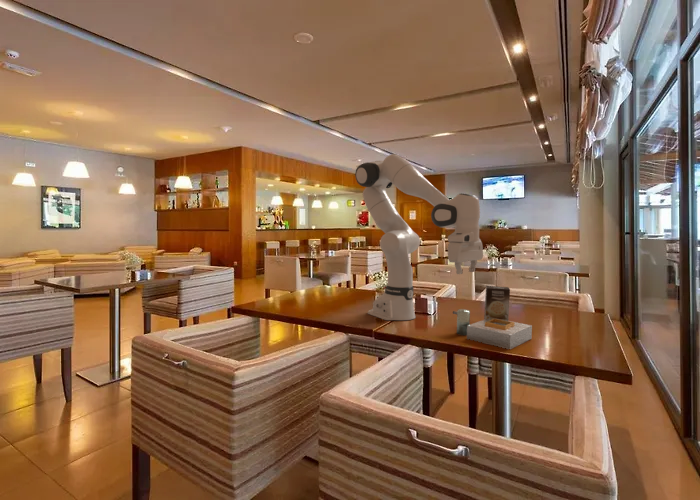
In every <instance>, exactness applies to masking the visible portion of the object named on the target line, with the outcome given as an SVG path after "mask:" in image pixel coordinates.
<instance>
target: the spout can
mask: <svg viewBox="0 0 700 500" xmlns="http://www.w3.org/2000/svg"><path fill="white" fill-rule="evenodd" d="M452 314H454V315H457V316H456V317H457V318H456V335H459V336H467V325H470V323H471V322H470V321H471V320H470V319H471V315H470V314H471V310H469V309H465V308H460V309H457V311H452Z"/></svg>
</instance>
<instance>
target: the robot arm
mask: <svg viewBox="0 0 700 500" xmlns="http://www.w3.org/2000/svg"><path fill="white" fill-rule="evenodd" d="M354 173H355V174H354V175H355V180H356V183H357V184H358V185H359V186H361V187H364V189H363V191H362V198H363V201H364V204H365V206H366V208H367V210H368V212H369V214H370V216H371V217H372V220H373V221H374V223H375V225H376V226H377V227H378V228H379V229H380V230H381V231H382V232H383V233H384V234H383V235H382V236H381V237H380V241H379V247H380V249H381V251H382V252H383V254H384V257H385V261H386V264H387V265H386V266H387V285H385V286H383V287H382V290H384V293H382V294H381V295H379V297H377V298H376V299H374V301H373V303H372V305H373V306H372V309H370V310H368V311H367V315H369V316H370V315H371V316H374V317H375V318H379V319H382V320H384V321H410V320H414V319H416V314H415V309H414V299H413V297H414V285H413V281H414V280H413V277H414V273H413V271H414V270H413V267H412V265H411V262H410V257H409V254H411V253H412V254H413V253H414V252H416V251H417V250H418V249H419V247H420V244H421V239H420V236H419V235H418V234H417V233H416V232H415V231H414V230H413V229H412V228H411V227H410V226H409V224H408V223H407V222H406V221H405V220H404V219H403V217H402V216H401V215H400V214H399V212H398V210H397V209H396V207H395V205H394V203H393V202H392V201H391V199H390V197H389V195H388V192H387V189H389V188H392V185H394V187H395V188H396V189H398V190H399V191H401V193H402V192H403V193H404V194H406V195H409V196H413V197H417V198H420V199H423V200H425V201H427V203H429V204H431V205H432V206H433V207H432V210H431V213H430V214H431V215H430V218H431V222H432V223H433V225H435V226H437V227H439V228H442V229H443V228H446V229H450V228H451V229H454V231H453V232H452V233H450V234H449V235H448V236H447V241H448V242H449V243H448V246H447V259H448V262H449V263H454V267H455V269H456V271H455V272H456V274H457V275H462V274H463V272H464V271H463V270H464V269H462V265H463V263H465V262H470V265H469V267H468V271H469V272H470V273H475V272H476V266H477V264H478V261H480V260H481V261H482V260H483V259H484V247H483V242H482V239H481V238H480V225H479V223H480V222H479V221H480V218H481V217H480V216H481V215H480V213H481V212H480V210H481V209H480V207H481V206H480V201H479V200H480V199H479V197H478V196H477V195H475V194H469V193H458V194H457V195H455V197H453V198H451V199H450V198H449V197H447V196H446V195H445V194H444V193H443V192H441V191H440V190H439V189H437V188H436V187H435V186H434V185H433V184H432V183H431V182H430V181H429V180H428V179H427V178H426V177H425V176H424V175H423V174H422V173H421V172H420V171H419V170H418V169H417V168H416V167H415V166H414V165H413V164H412V163H410V162H409V161H408V160H406V159H405V158H404V157H402V156H400V155H398V154H395V153H393V154H389V155H388V156H386V157H385V158H384V160H375V161H371V162H368V161H367V162H363V163H361V164H359V165H358V166H357V167H356V169H355V172H354Z"/></svg>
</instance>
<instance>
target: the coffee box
mask: <svg viewBox="0 0 700 500" xmlns="http://www.w3.org/2000/svg"><path fill="white" fill-rule="evenodd" d="M510 294H511V289H510V288H509V287H508V286H496V285H495V286H493V285H485V297H484V298H485V300H484V319H483V320H485V319H488V318H490V317H491V318H496V319H501V320H506V321H509V317H510V316H509V315H510V297H511V295H510Z"/></svg>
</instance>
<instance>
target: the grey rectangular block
mask: <svg viewBox="0 0 700 500" xmlns="http://www.w3.org/2000/svg"><path fill="white" fill-rule="evenodd" d="M532 332H533V325H532V324H526V323H522V322H517V321H511V320H508V321H506V320H501V319H496V318H491V317H490V318H488V319H485V320H484V319H482V320H479V321H476V322H474V323H471V324H470V325H467V335H466V339H467V340H469V339H470V341H473V340H474V342H477V341H478V343H481V342H482V344H486V345H490V346H493V345H494V347H497V346H498V348H501V347H502V349H505V348H506V350H509V349H510V350H512V349H514V348H516V347H519V346H520V345H523V344H525V343H526V342H528V341H529V340H530V341H531V340H532V335H533V333H532Z"/></svg>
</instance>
